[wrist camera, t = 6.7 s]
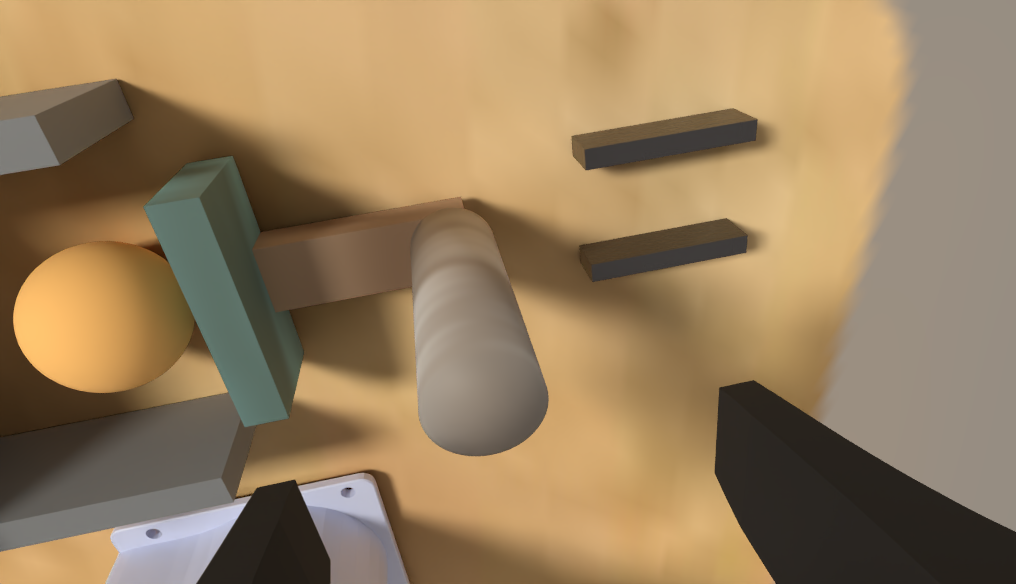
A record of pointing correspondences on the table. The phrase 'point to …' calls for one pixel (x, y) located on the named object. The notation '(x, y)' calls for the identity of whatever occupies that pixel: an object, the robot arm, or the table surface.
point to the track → (655, 143)
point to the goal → (119, 438)
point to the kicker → (349, 274)
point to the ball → (103, 317)
